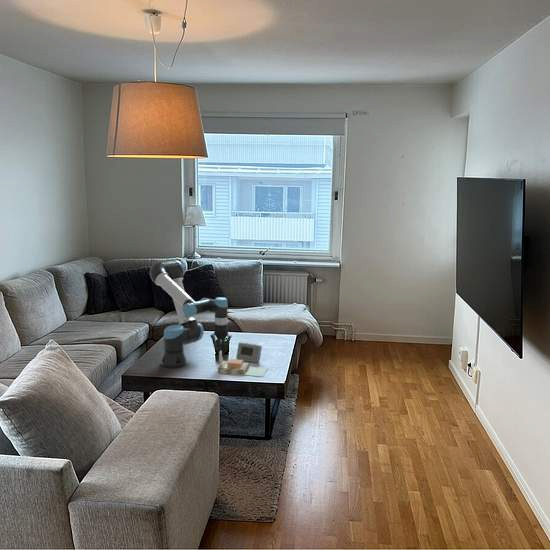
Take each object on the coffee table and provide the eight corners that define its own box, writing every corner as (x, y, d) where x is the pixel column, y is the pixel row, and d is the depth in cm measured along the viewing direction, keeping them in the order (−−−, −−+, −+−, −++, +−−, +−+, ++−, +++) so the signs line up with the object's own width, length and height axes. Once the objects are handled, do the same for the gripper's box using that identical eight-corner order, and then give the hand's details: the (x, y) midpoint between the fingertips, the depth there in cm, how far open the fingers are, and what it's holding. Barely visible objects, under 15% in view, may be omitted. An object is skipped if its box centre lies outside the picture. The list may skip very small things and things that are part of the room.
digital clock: (234, 359, 344) (234, 343, 342) (243, 356, 351) (243, 340, 349) (255, 365, 335) (255, 348, 333) (263, 361, 342) (264, 345, 340)
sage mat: (244, 375, 317) (244, 374, 317) (249, 367, 331) (249, 366, 331) (262, 377, 315) (262, 376, 315) (267, 368, 329) (267, 368, 329)
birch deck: (217, 372, 321) (218, 367, 320) (223, 365, 333) (223, 360, 332) (244, 374, 318) (244, 369, 318) (249, 367, 330) (249, 363, 329)
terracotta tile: (227, 366, 322) (227, 362, 321) (230, 362, 329) (230, 358, 328) (240, 367, 321) (240, 363, 320) (243, 364, 327) (243, 360, 327)
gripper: (208, 324, 319) (208, 363, 323) (230, 326, 317) (229, 364, 321) (212, 321, 327) (212, 359, 331) (233, 322, 324) (233, 360, 328)
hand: (221, 361), depth 326 cm, fingers closed
